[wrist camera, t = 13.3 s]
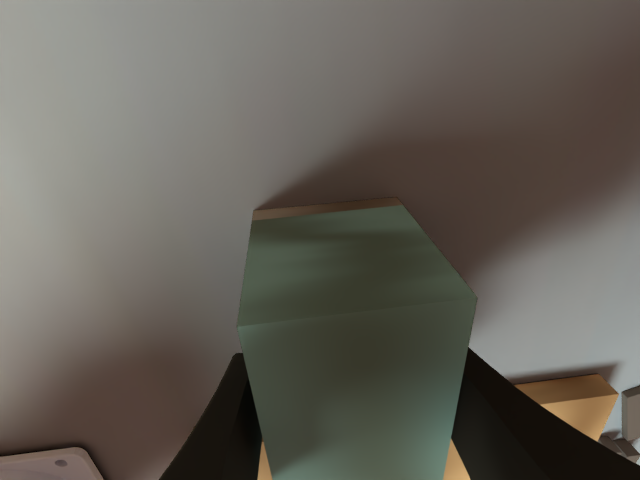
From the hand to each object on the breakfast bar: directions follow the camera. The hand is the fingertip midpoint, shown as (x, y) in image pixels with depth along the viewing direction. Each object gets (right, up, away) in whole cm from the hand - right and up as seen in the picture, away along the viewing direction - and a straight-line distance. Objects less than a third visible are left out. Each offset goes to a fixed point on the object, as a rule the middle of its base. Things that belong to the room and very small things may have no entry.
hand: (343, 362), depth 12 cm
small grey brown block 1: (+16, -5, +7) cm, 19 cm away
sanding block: (0, +1, +3) cm, 3 cm away
